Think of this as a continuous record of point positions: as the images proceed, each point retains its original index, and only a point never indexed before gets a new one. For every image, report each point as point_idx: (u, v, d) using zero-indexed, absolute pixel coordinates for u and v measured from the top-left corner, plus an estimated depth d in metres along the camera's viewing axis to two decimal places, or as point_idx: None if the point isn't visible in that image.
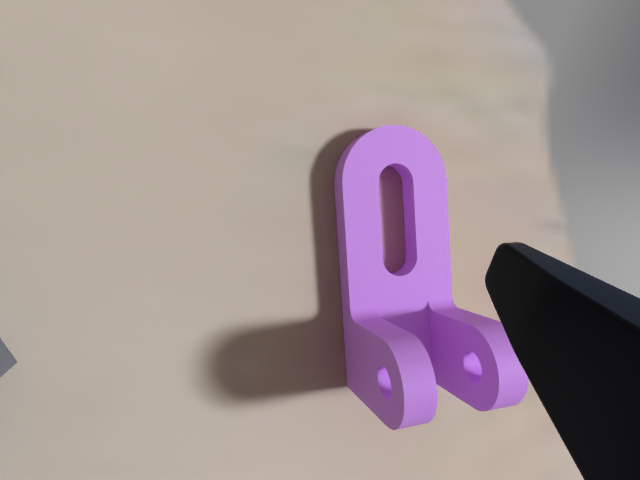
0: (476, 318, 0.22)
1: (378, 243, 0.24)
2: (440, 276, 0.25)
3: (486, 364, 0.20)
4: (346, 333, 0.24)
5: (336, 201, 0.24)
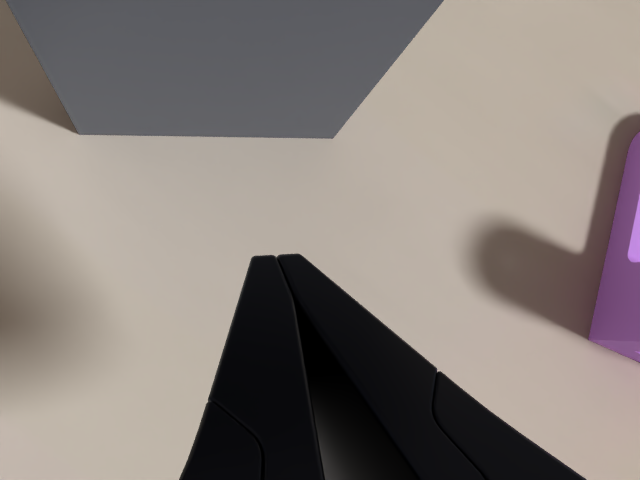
0: None
1: None
2: None
3: None
4: (608, 282, 0.23)
5: (628, 163, 0.25)
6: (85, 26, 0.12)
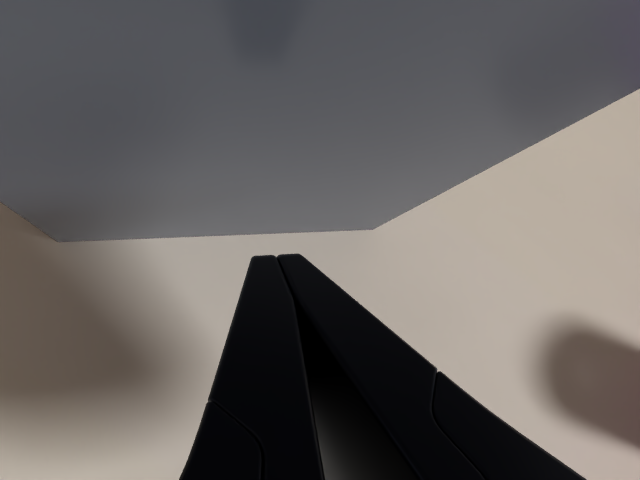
0: None
1: None
2: None
3: None
4: None
5: None
6: (51, 163, 0.08)
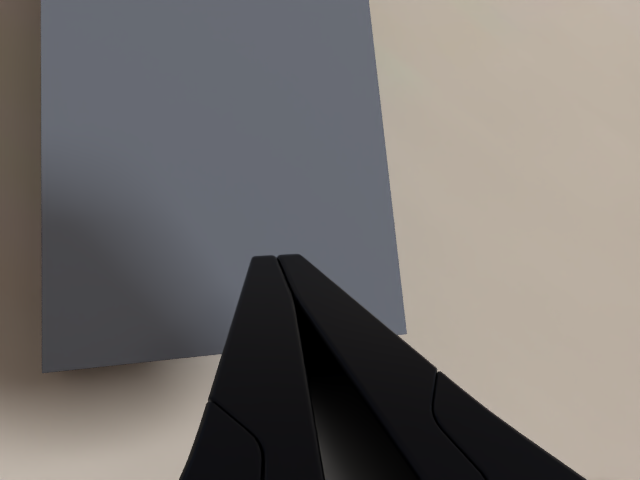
0: None
1: None
2: None
3: None
4: None
5: None
6: (100, 103, 0.14)
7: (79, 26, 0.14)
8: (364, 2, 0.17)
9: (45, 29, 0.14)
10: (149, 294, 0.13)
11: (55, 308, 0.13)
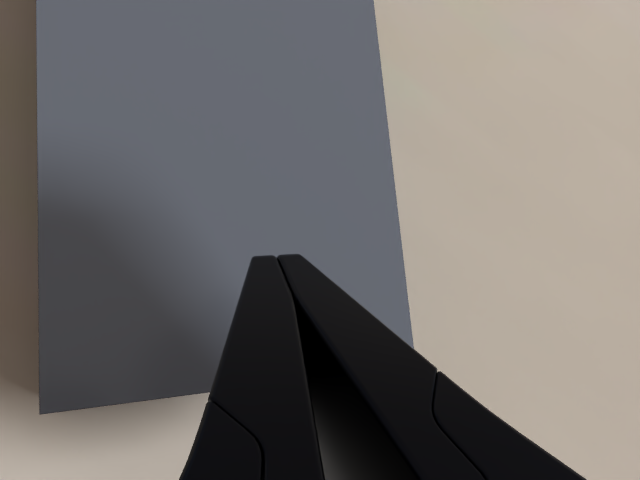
0: None
1: None
2: None
3: None
4: None
5: None
6: (98, 130, 0.13)
7: (76, 50, 0.13)
8: (371, 19, 0.16)
9: (41, 54, 0.13)
10: (150, 329, 0.13)
11: (53, 346, 0.12)
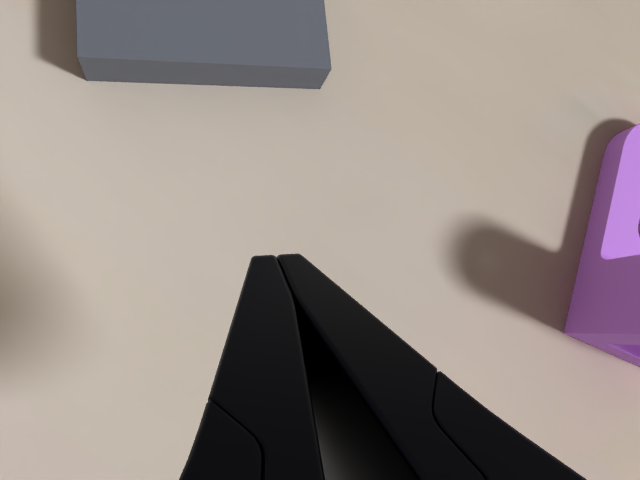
0: None
1: (638, 210, 0.25)
2: None
3: None
4: (583, 278, 0.24)
5: (603, 166, 0.26)
6: None
7: None
8: None
9: None
10: (148, 19, 0.19)
11: (85, 19, 0.19)
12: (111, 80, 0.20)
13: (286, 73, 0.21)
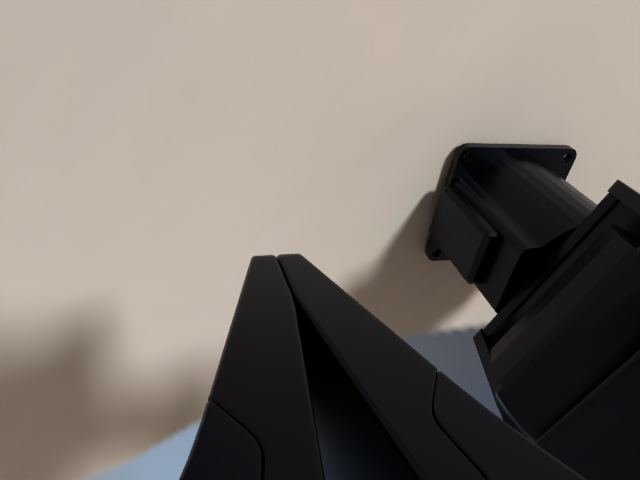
0: None
1: None
2: None
3: None
4: None
5: None
6: None
7: None
8: None
9: None
10: None
11: None
12: None
13: None
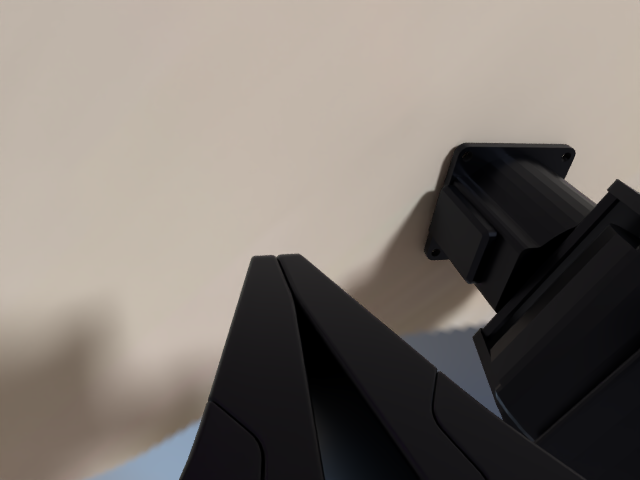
0: None
1: None
2: None
3: None
4: None
5: None
6: None
7: None
8: None
9: None
10: None
11: None
12: None
13: None
